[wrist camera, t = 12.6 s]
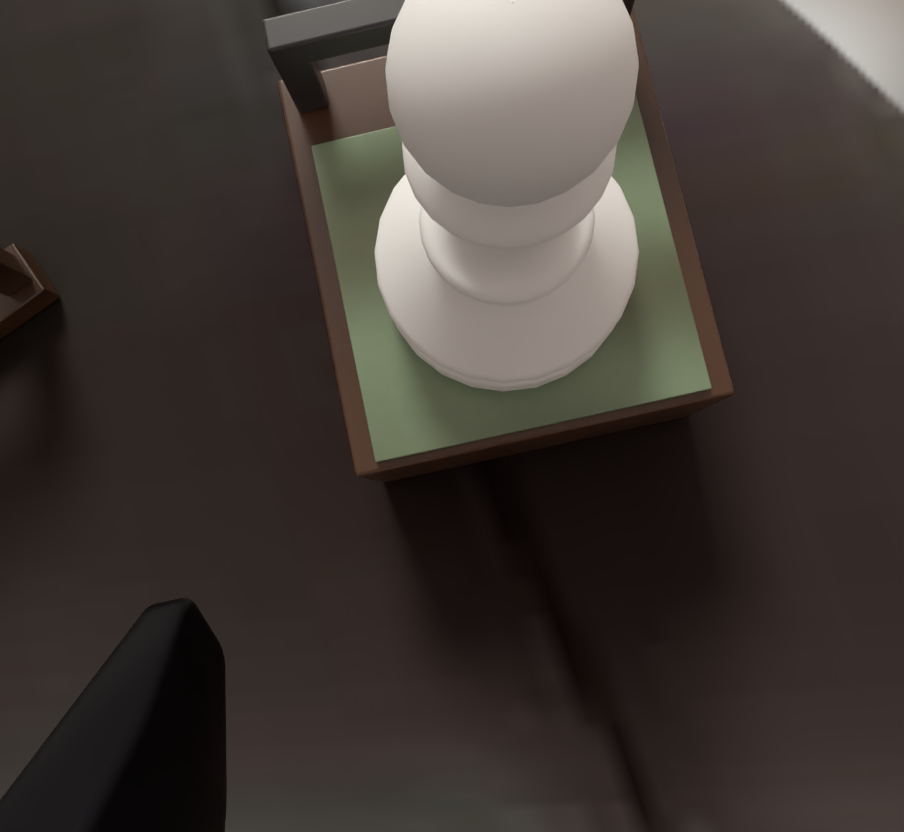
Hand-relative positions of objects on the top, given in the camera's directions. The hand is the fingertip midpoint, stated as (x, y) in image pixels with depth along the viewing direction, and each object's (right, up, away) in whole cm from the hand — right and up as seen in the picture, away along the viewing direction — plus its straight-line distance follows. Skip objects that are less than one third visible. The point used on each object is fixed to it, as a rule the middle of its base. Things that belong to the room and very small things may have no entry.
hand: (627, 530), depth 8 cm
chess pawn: (-1, +4, +9) cm, 10 cm away
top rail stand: (-1, +5, +13) cm, 14 cm away
